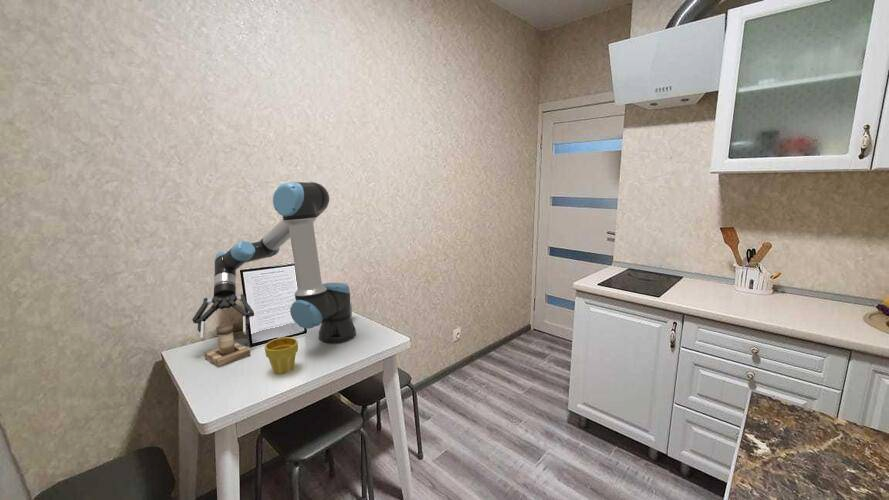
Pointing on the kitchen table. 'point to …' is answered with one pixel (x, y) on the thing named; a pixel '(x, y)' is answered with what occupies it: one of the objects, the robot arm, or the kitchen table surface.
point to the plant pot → (282, 354)
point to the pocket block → (232, 357)
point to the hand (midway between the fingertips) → (224, 336)
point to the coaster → (241, 341)
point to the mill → (225, 339)
